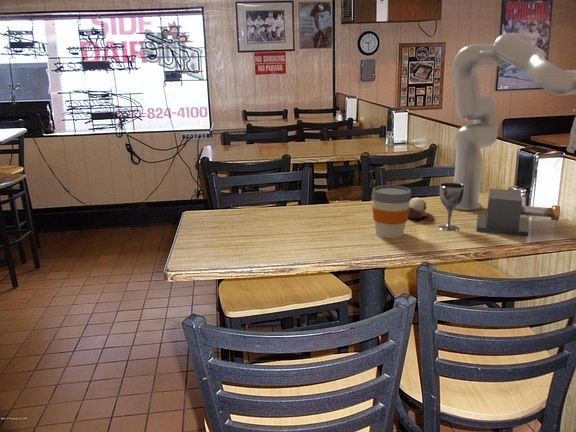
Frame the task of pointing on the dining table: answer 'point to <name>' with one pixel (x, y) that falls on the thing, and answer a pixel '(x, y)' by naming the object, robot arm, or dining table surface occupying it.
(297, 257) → the dining table surface
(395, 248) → the dining table surface
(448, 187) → the wine glass
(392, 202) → the reusable coffee cup
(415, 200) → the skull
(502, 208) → the block
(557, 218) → the shaft
